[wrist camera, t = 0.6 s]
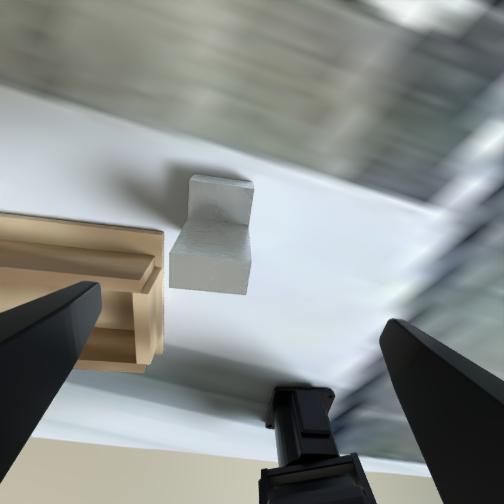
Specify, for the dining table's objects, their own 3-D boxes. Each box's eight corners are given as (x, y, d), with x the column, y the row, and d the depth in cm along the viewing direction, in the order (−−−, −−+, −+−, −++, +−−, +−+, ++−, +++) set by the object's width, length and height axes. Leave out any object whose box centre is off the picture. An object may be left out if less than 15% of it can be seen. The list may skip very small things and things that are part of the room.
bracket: (244, 241, 20) (246, 295, 14) (191, 235, 20) (169, 287, 14) (252, 182, 18) (259, 214, 12) (194, 174, 18) (169, 202, 12)
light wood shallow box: (163, 350, 25) (151, 388, 21) (-11, 337, 24) (-56, 376, 20) (163, 232, 20) (147, 256, 16) (-60, 205, 18) (-133, 226, 15)
